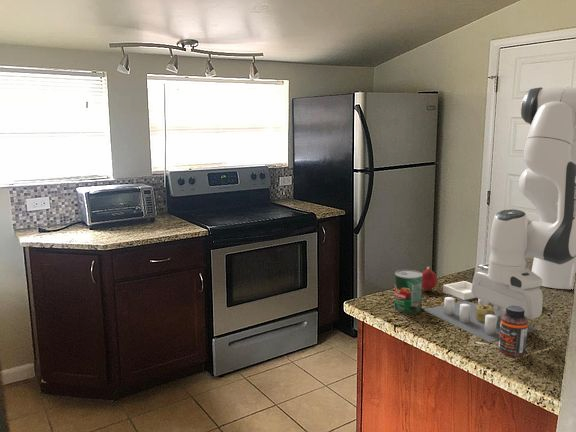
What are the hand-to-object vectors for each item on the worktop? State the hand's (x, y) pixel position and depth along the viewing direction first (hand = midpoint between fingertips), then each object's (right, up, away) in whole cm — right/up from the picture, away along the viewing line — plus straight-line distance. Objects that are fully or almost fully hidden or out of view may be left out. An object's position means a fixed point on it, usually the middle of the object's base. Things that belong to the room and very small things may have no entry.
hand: (502, 322), depth 137 cm
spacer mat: (-5, -1, +6) cm, 8 cm away
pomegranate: (-12, +4, +31) cm, 33 cm away
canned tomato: (-22, +1, +15) cm, 26 cm away
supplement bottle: (-3, -5, -13) cm, 14 cm away
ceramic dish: (-1, +3, +27) cm, 27 cm away
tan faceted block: (-3, 0, +6) cm, 7 cm away
